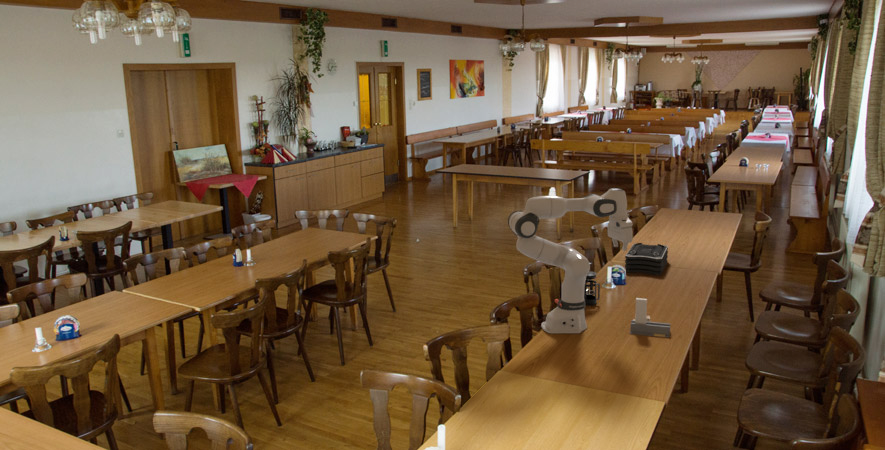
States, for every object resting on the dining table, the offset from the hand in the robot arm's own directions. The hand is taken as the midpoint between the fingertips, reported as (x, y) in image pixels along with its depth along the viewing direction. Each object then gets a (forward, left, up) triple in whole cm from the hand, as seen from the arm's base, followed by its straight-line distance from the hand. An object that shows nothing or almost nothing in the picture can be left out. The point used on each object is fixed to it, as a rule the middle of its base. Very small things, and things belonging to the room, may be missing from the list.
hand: (620, 248), depth 327 cm
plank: (+6, -14, -38) cm, 41 cm away
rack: (+10, -14, -39) cm, 43 cm away
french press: (-4, +33, -39) cm, 51 cm away
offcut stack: (+8, -9, -38) cm, 40 cm away
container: (+56, +92, -39) cm, 114 cm away
